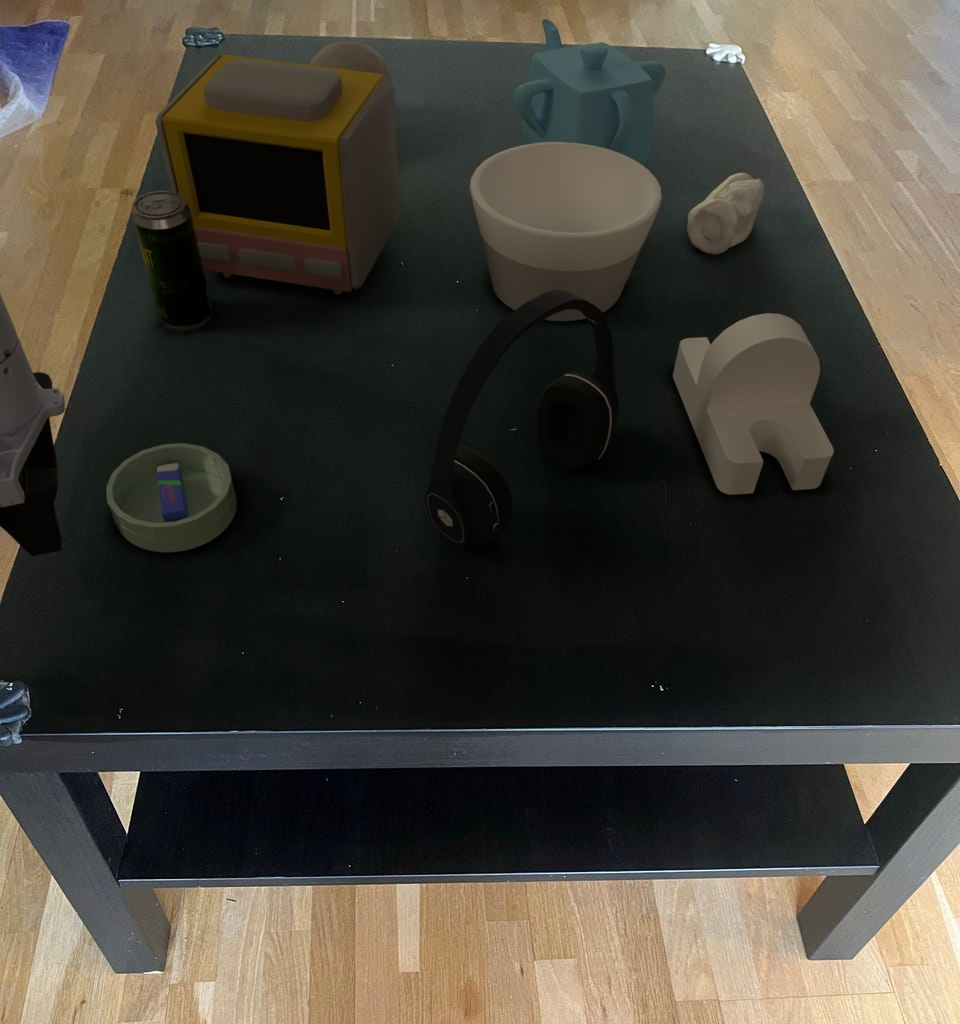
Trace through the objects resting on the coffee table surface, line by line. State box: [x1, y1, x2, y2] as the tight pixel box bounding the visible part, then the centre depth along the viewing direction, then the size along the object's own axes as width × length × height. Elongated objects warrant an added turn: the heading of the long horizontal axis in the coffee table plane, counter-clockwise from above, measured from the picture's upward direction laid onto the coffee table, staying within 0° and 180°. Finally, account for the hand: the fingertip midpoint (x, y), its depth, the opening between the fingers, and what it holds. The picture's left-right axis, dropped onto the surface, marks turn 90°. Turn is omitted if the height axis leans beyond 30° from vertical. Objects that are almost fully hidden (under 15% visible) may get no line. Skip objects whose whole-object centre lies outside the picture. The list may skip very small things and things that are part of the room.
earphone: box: [424, 290, 620, 547], centre depth 76 cm, size 20×7×18 cm, turn 137°
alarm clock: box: [155, 53, 401, 295], centre depth 98 cm, size 20×16×18 cm
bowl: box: [469, 142, 663, 322], centre depth 100 cm, size 19×19×11 cm
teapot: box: [512, 18, 666, 168], centre depth 115 cm, size 18×16×14 cm
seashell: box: [308, 40, 393, 83], centre depth 120 cm, size 15×14×15 cm
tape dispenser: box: [672, 312, 835, 495], centre depth 86 cm, size 10×18×11 cm, turn 7°
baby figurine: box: [686, 172, 765, 255], centre depth 109 cm, size 9×12×8 cm
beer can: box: [131, 190, 213, 332], centre depth 94 cm, size 5×5×12 cm
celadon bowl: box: [105, 442, 238, 553], centre depth 80 cm, size 10×10×3 cm
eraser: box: [157, 463, 188, 522], centre depth 80 cm, size 2×6×2 cm, turn 15°
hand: (44, 511), depth 68 cm, fingers open, 7 cm apart
